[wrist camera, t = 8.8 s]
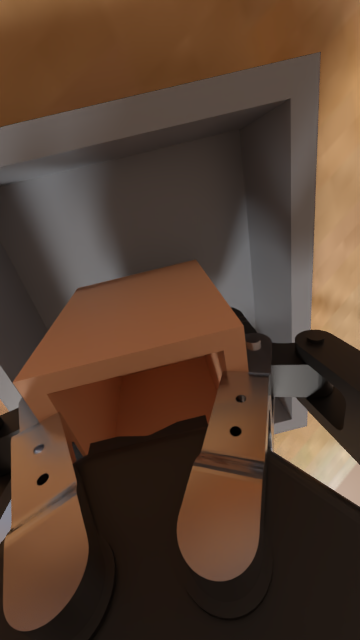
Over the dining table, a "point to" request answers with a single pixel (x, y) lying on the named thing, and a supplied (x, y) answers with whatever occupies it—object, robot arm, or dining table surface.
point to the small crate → (135, 354)
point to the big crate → (165, 203)
